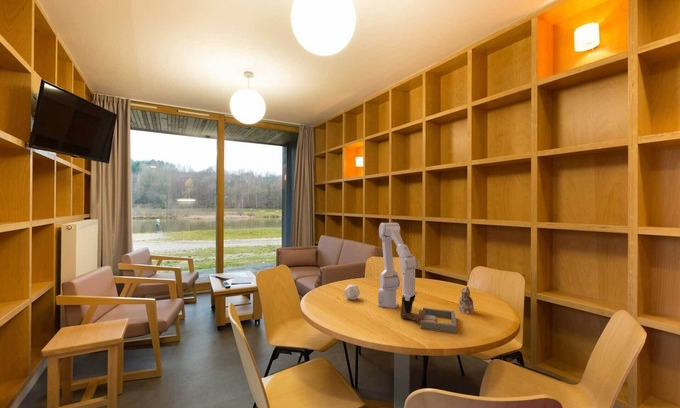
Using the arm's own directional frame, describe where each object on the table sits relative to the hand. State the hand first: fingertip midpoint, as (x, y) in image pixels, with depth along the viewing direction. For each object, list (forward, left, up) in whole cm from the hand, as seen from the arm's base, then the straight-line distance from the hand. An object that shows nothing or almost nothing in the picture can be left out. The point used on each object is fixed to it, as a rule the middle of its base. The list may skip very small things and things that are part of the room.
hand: (408, 311), depth 138 cm
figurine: (+27, +20, -4) cm, 33 cm away
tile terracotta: (+9, -3, -4) cm, 11 cm away
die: (-33, +20, -4) cm, 39 cm away
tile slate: (+9, +3, -4) cm, 11 cm away
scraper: (+2, 0, -3) cm, 3 cm away
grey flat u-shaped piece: (+13, 0, -3) cm, 13 cm away
